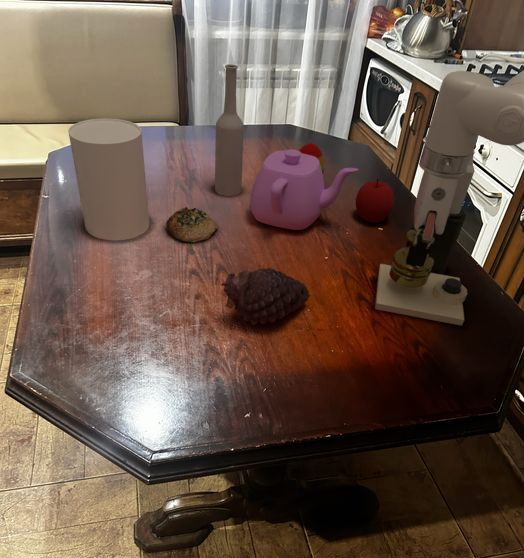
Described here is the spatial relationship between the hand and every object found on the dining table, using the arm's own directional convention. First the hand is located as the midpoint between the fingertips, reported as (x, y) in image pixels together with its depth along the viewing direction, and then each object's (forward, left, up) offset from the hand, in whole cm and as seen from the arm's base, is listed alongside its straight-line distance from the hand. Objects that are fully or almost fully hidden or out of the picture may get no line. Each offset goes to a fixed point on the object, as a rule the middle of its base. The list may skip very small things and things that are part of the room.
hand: (414, 255), depth 94 cm
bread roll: (+46, -9, -9) cm, 48 cm away
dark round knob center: (-8, 0, -6) cm, 10 cm away
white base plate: (-3, 0, -9) cm, 9 cm away
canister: (+62, -6, -9) cm, 63 cm away
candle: (-6, -11, -9) cm, 15 cm away
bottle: (+44, -31, -9) cm, 55 cm away
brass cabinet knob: (0, 0, -5) cm, 5 cm away
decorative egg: (+26, -43, -9) cm, 51 cm away
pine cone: (+24, +15, -9) cm, 30 cm away
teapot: (+27, -23, -9) cm, 37 cm away
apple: (+8, -29, -9) cm, 31 cm away
